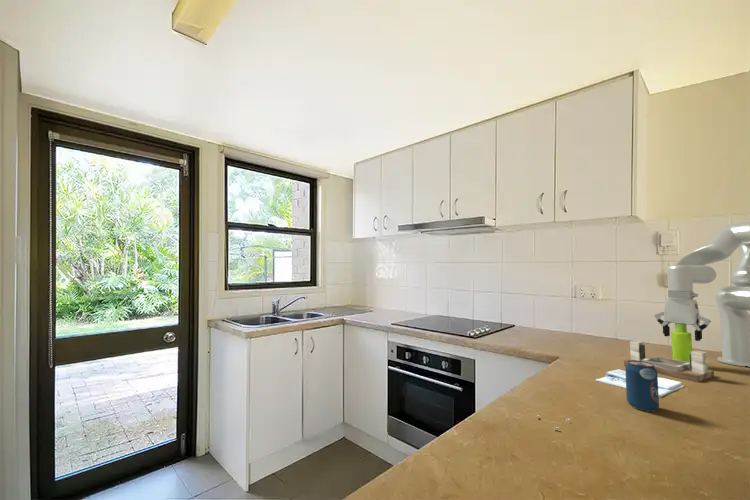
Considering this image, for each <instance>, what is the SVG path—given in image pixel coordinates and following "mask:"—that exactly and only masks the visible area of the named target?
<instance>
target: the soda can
mask: <svg viewBox="0 0 750 500" xmlns="http://www.w3.org/2000/svg"><path fill="white" fill-rule="evenodd" d="M628 360H629V359H628ZM624 367H625V370H624V371H626V390H625V393H626V401H627V403H628V404H629V406H630V405H631V406H632V407H631V406H630V407H631V408H633V407H635V408H638V409H641V410H640V411H642V410H647V411H646V412H649V411H653V412H656V411H655V410H657V409H658V408H659V407H660V402H659V401H660V397H659V396H658V373H657V370H656V369H655V367H654V364H652V363H649V362H644V361H637V360H629V361H628V364H627V365H626V366H624ZM635 408H634V409H635ZM638 409H637V410H638Z"/></svg>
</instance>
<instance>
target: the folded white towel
mask: <svg viewBox="0 0 750 500" xmlns="http://www.w3.org/2000/svg"><path fill="white" fill-rule="evenodd" d="M598 381H599V382H598ZM595 382H598V383H602V384H606V385H610V384H611V385H610V386H614V385H615V387H618V386H619V388H621V387H623V388H622V389H625V388H626V370H622V369H619V368H618V369H614V370H610V371H606V372H605V375H604V376H603V377H600V378H595ZM683 388H685V385H683V383H682V381H679V380H678V381H677V380H675V379H674V380H673V379H669V378H664V377H658V396H659V399H660V398H662V397H664V396H666V395H668V394H670V393H673V392H676V391H678V390H680V389H683Z"/></svg>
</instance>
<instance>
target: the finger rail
mask: <svg viewBox="0 0 750 500" xmlns="http://www.w3.org/2000/svg"><path fill="white" fill-rule="evenodd" d="M629 350H630V351H629V353H630V354H629V355H630V359H626V360H623V361H624V362H623V365H624V367H626V365H627V364H628V361H629V360H637V361H644V362H649V363H652V364H654V367H655V369H656V370H657V374H660V375H664V376H668V377H674V378H678V379H681V380H687V381H692V382H696V383H698V382H702V381H705V380H707V379H710V378H713V377H715V371H714V370H713V369H709V364H708V352H707V351H700V350H692V352H691V354H690V362H685V361H679V360H674V359H673V358H668V357H663V356H652V357H646V345H645V344H644V341H638V340H632V341H629Z"/></svg>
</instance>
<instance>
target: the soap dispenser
mask: <svg viewBox="0 0 750 500" xmlns="http://www.w3.org/2000/svg"><path fill="white" fill-rule="evenodd" d="M674 327H675V330H672V331H671V332H670V333H671V349H672V359H674V360H679V361H685V362H690V354H691V352H692V351H693V344H692V343H693V342H692V341H693V340H692V333H690V332H687V331H688V329H687V324H678V323H674Z"/></svg>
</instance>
